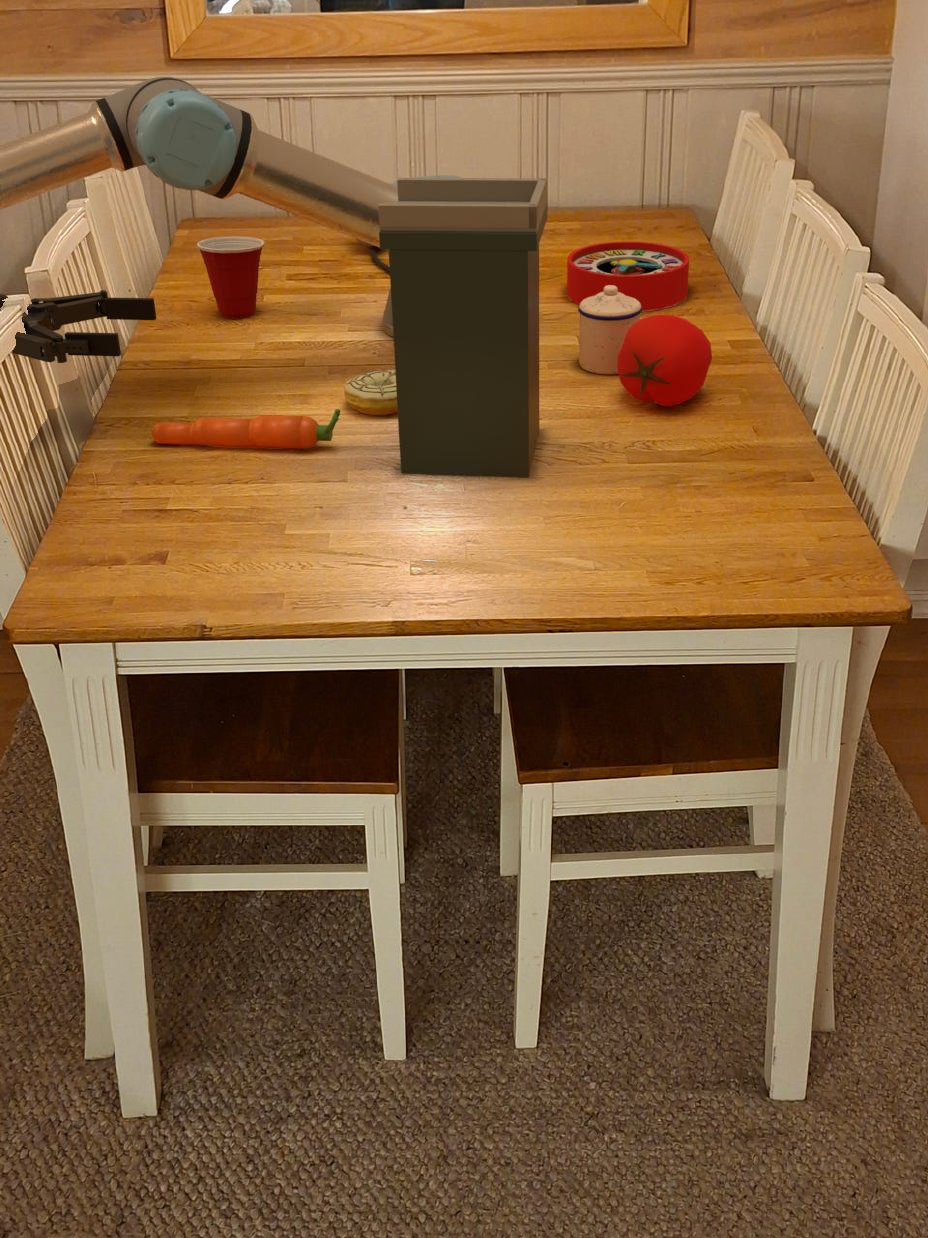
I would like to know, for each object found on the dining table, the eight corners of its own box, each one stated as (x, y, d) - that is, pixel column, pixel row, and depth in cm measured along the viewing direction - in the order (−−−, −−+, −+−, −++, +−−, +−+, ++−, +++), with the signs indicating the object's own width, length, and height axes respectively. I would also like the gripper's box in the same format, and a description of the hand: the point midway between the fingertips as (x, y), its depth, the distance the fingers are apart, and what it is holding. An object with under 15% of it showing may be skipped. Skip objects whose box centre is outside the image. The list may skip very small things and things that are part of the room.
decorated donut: (438, 401, 195) (437, 375, 193) (383, 425, 188) (382, 398, 187) (385, 384, 201) (384, 359, 199) (330, 406, 195) (328, 380, 193)
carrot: (148, 449, 184) (142, 411, 181) (158, 436, 187) (153, 399, 185) (338, 455, 180) (335, 417, 178) (345, 442, 184) (342, 404, 181)
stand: (393, 473, 175) (377, 206, 158) (411, 429, 187) (399, 176, 170) (537, 477, 173) (536, 207, 156) (546, 432, 185) (547, 177, 168)
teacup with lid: (639, 376, 201) (642, 296, 195) (576, 375, 202) (577, 296, 196) (639, 347, 211) (642, 271, 206) (579, 347, 212) (580, 270, 206)
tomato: (672, 401, 201) (627, 434, 192) (630, 321, 199) (583, 352, 190) (743, 367, 192) (700, 401, 183) (700, 284, 190) (654, 314, 181)
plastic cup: (284, 306, 233) (277, 234, 227) (248, 327, 225) (240, 252, 219) (228, 299, 237) (220, 228, 231) (192, 319, 229) (182, 246, 223)
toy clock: (586, 237, 242) (700, 245, 236) (585, 271, 245) (699, 280, 239) (551, 271, 226) (673, 280, 220) (551, 306, 229) (672, 316, 223)
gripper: (-74, 326, 168) (96, 330, 165) (11, 265, 189) (164, 267, 186) (-60, 386, 171) (106, 390, 169) (22, 319, 193) (171, 322, 190)
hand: (137, 326), depth 177 cm, fingers open, 13 cm apart
